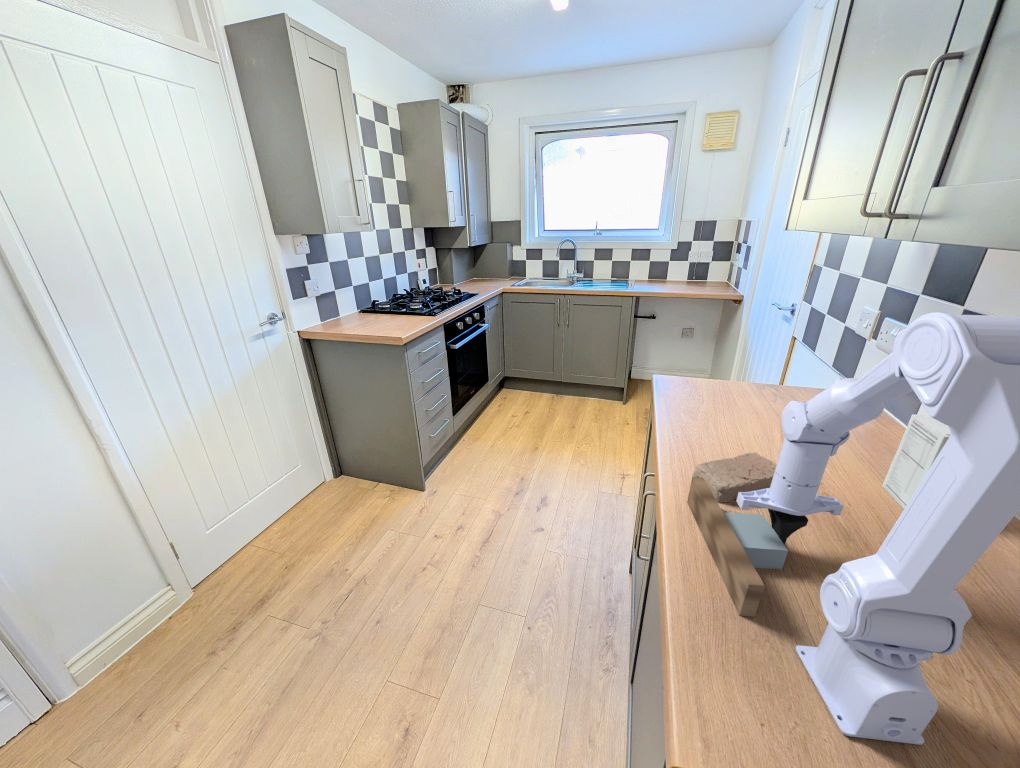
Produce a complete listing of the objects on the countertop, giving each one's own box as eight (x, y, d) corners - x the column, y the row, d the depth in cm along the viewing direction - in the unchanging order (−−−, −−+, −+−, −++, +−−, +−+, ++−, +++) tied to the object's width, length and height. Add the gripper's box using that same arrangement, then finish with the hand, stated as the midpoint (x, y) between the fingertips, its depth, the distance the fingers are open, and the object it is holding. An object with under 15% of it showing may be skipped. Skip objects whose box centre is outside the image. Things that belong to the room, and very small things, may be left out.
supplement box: (971, 525, 70) (1017, 445, 63) (907, 515, 72) (945, 437, 66) (935, 492, 78) (973, 418, 72) (879, 484, 81) (911, 412, 74)
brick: (718, 505, 76) (723, 486, 74) (689, 480, 83) (692, 462, 82) (784, 491, 80) (791, 471, 78) (751, 468, 87) (756, 450, 86)
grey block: (781, 569, 62) (788, 550, 60) (728, 565, 63) (733, 546, 61) (757, 532, 69) (763, 514, 67) (710, 529, 70) (714, 511, 68)
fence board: (754, 616, 54) (764, 585, 52) (739, 615, 55) (748, 584, 52) (697, 502, 76) (703, 477, 74) (687, 502, 77) (692, 477, 74)
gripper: (831, 463, 62) (808, 528, 68) (736, 458, 64) (720, 522, 69) (863, 491, 56) (834, 561, 61) (756, 485, 58) (737, 554, 63)
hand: (775, 543), depth 65 cm, fingers closed
